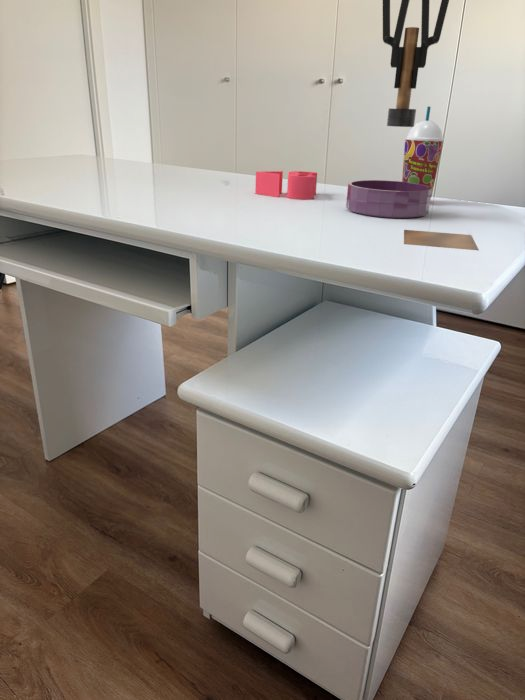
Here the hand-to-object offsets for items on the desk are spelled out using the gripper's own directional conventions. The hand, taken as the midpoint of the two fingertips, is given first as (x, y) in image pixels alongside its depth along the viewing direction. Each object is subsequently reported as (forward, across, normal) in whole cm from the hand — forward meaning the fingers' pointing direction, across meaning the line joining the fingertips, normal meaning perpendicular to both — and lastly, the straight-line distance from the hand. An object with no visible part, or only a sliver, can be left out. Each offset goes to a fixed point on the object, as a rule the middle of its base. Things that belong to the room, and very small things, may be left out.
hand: (405, 87), depth 98 cm
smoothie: (+23, +5, +19) cm, 30 cm away
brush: (+7, 0, 0) cm, 7 cm away
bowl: (+23, -1, +1) cm, 23 cm away
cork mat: (+23, +8, -22) cm, 33 cm away
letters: (+23, -25, +16) cm, 37 cm away
